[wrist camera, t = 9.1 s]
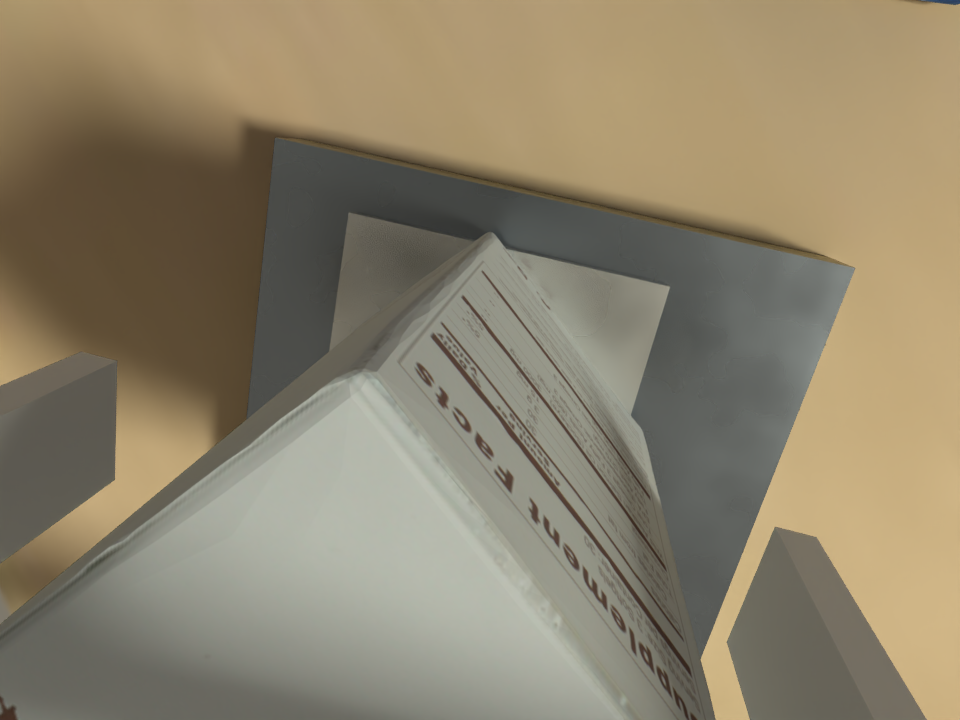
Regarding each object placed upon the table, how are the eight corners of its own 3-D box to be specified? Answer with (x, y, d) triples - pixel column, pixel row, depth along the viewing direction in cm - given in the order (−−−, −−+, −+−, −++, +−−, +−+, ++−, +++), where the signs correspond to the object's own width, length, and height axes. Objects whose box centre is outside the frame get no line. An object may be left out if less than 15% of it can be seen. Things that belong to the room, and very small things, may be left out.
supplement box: (451, 550, 21) (286, 1070, 9) (302, 367, 20) (-109, 689, 8) (652, 431, 19) (780, 906, 7) (499, 219, 18) (340, 354, 6)
